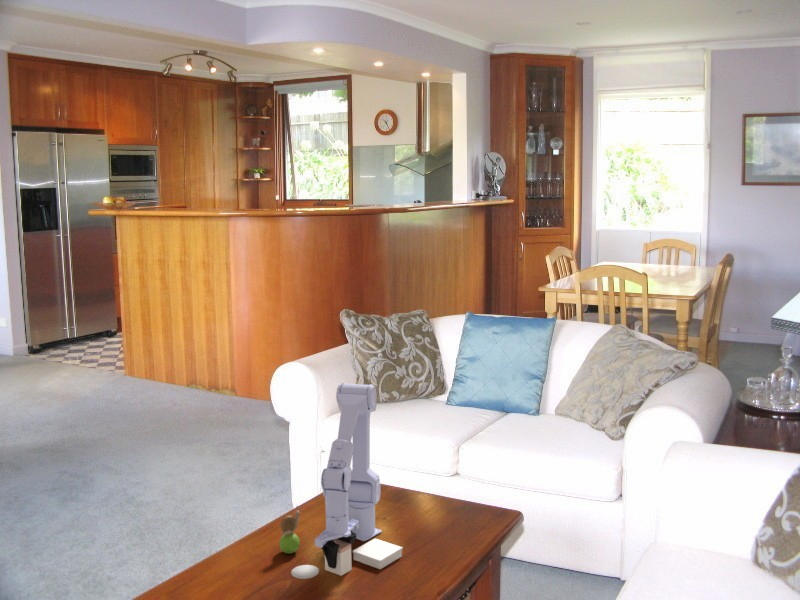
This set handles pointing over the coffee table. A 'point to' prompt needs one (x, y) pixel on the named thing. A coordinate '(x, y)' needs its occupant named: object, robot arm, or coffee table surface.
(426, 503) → the coffee table surface
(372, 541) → the podium
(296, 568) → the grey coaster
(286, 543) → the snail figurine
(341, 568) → the carton
